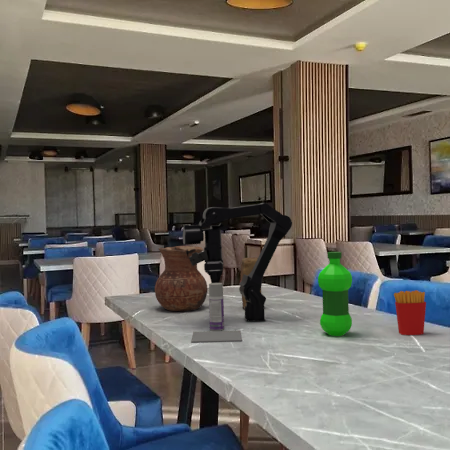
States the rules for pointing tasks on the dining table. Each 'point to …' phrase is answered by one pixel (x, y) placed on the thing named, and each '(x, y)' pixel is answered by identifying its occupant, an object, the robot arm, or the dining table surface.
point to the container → (216, 306)
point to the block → (247, 271)
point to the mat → (216, 336)
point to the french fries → (410, 312)
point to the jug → (180, 280)
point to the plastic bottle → (335, 296)
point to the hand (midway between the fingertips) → (215, 288)
